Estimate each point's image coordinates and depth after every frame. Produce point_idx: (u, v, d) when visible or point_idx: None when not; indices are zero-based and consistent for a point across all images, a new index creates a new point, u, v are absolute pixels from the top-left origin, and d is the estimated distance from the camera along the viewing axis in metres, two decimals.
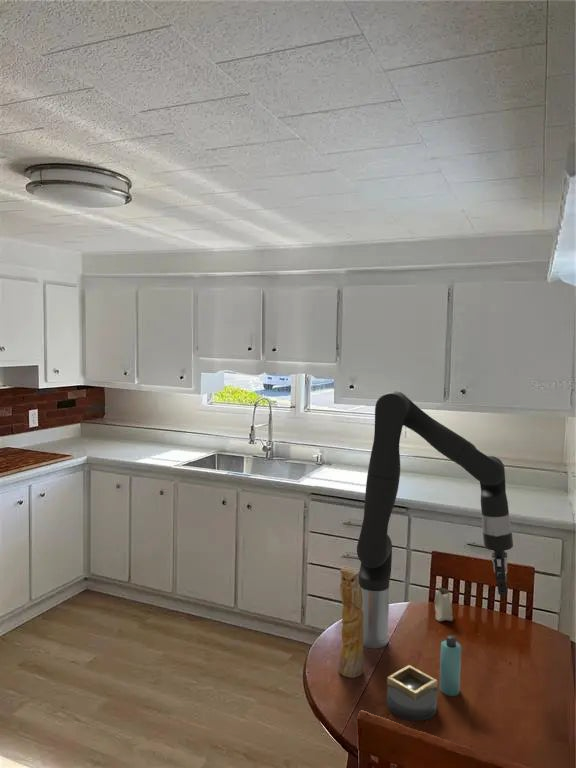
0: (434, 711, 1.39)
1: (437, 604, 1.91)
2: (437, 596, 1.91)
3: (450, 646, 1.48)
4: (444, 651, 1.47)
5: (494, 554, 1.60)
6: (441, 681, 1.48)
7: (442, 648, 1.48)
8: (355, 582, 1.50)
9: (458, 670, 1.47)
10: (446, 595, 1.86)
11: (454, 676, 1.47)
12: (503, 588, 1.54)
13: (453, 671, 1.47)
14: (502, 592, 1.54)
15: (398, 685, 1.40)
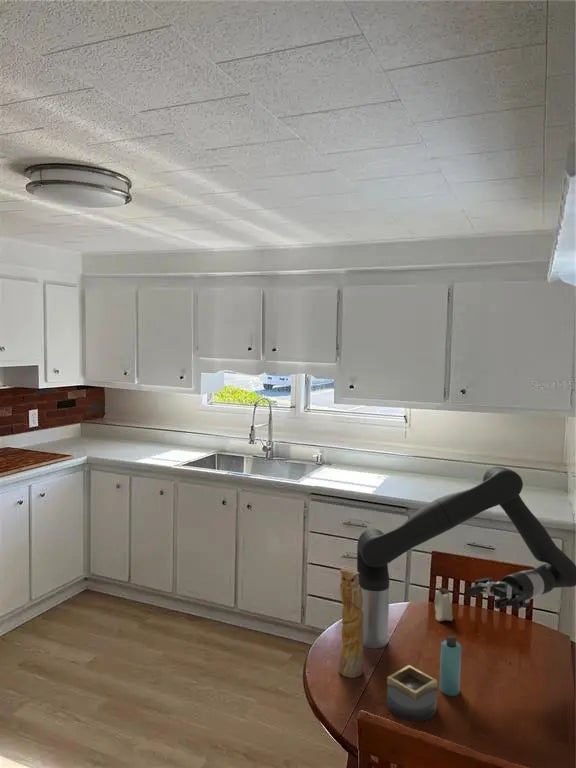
0: (434, 711, 1.39)
1: (437, 604, 1.91)
2: (437, 596, 1.91)
3: (450, 646, 1.48)
4: (444, 651, 1.47)
5: (504, 585, 1.59)
6: (441, 680, 1.48)
7: (442, 648, 1.48)
8: (355, 582, 1.50)
9: (458, 670, 1.47)
10: (446, 595, 1.86)
11: (454, 676, 1.47)
12: (504, 605, 1.50)
13: (453, 671, 1.47)
14: (501, 605, 1.50)
15: (398, 685, 1.40)
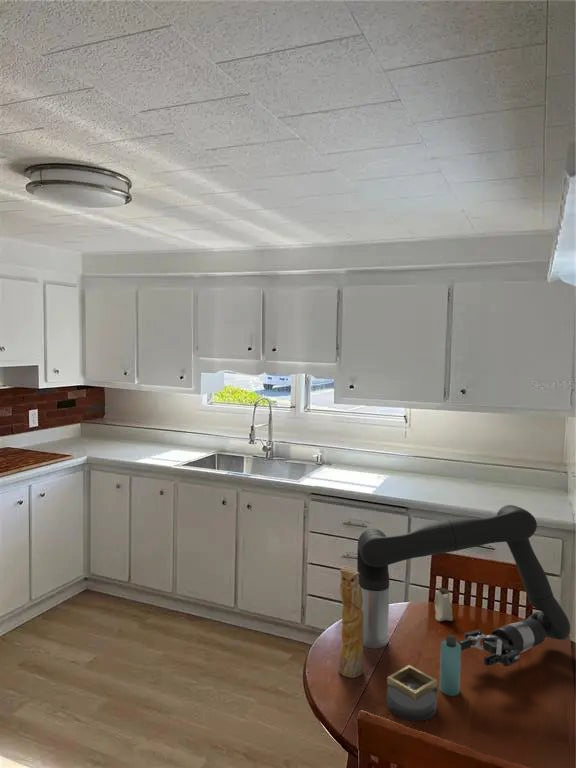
0: (434, 711, 1.39)
1: (437, 604, 1.91)
2: (437, 596, 1.91)
3: (450, 646, 1.48)
4: (444, 651, 1.47)
5: (494, 639, 1.58)
6: (441, 680, 1.48)
7: (442, 648, 1.48)
8: (355, 582, 1.50)
9: (458, 670, 1.47)
10: (446, 595, 1.86)
11: (454, 675, 1.47)
12: (493, 662, 1.50)
13: (453, 671, 1.47)
14: (490, 662, 1.49)
15: (398, 685, 1.40)
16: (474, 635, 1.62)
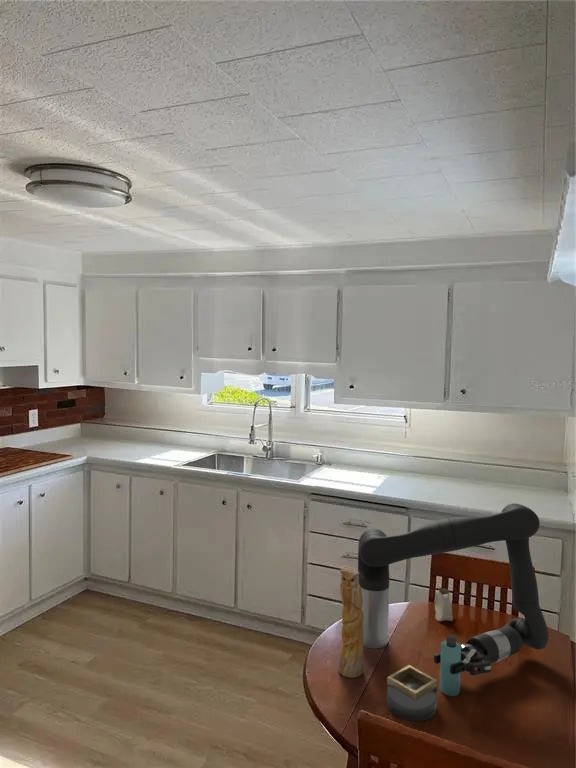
0: (434, 711, 1.39)
1: (437, 604, 1.91)
2: (437, 596, 1.91)
3: (450, 646, 1.48)
4: (444, 651, 1.47)
5: (468, 648, 1.53)
6: (441, 681, 1.48)
7: (442, 648, 1.48)
8: (355, 582, 1.50)
9: None
10: (446, 595, 1.86)
11: (454, 676, 1.47)
12: (460, 671, 1.45)
13: None
14: (456, 671, 1.45)
15: (398, 685, 1.40)
16: None
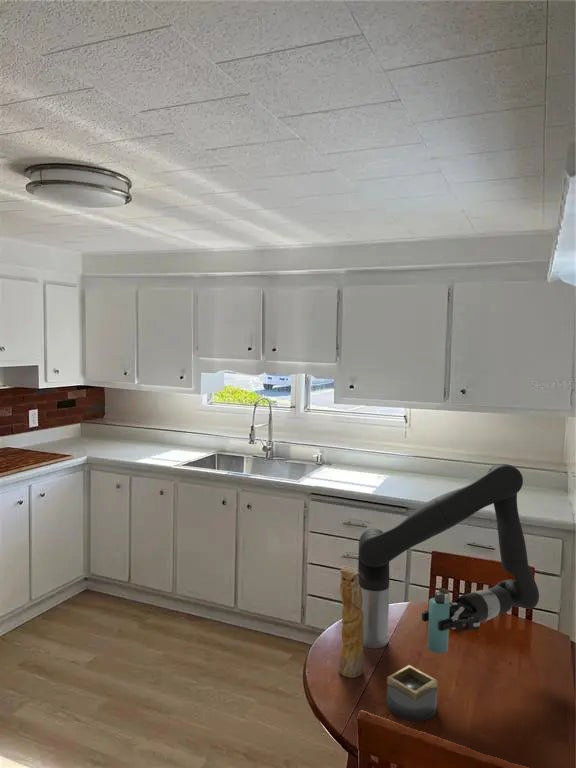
0: (434, 711, 1.39)
1: None
2: None
3: (438, 602, 1.44)
4: (432, 607, 1.44)
5: (457, 606, 1.50)
6: (429, 638, 1.45)
7: (430, 605, 1.45)
8: (355, 582, 1.50)
9: None
10: (446, 595, 1.86)
11: (443, 633, 1.44)
12: (448, 627, 1.42)
13: None
14: (444, 627, 1.42)
15: (398, 685, 1.40)
16: None
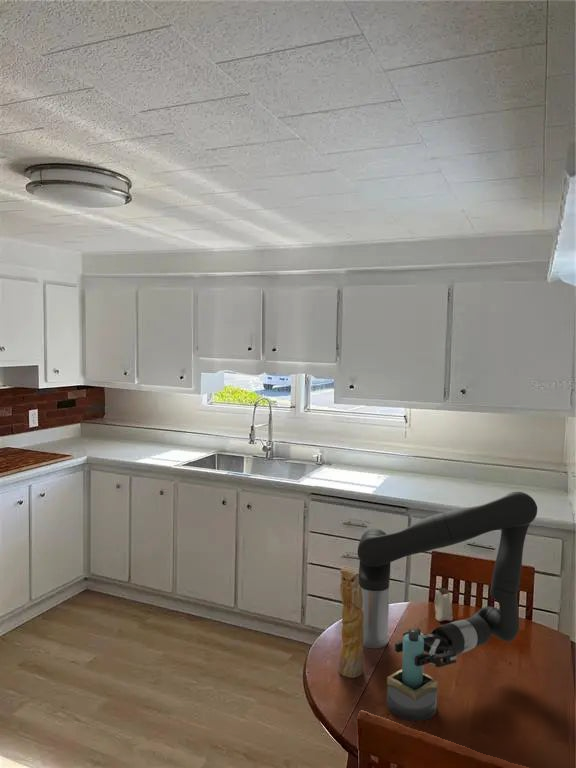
0: (434, 711, 1.39)
1: (437, 604, 1.91)
2: (437, 596, 1.91)
3: (412, 640, 1.40)
4: (405, 645, 1.40)
5: (433, 638, 1.46)
6: (403, 676, 1.41)
7: (404, 642, 1.41)
8: (355, 582, 1.50)
9: None
10: (446, 595, 1.86)
11: (416, 671, 1.40)
12: (425, 663, 1.38)
13: (415, 666, 1.40)
14: (421, 662, 1.37)
15: (398, 685, 1.40)
16: None
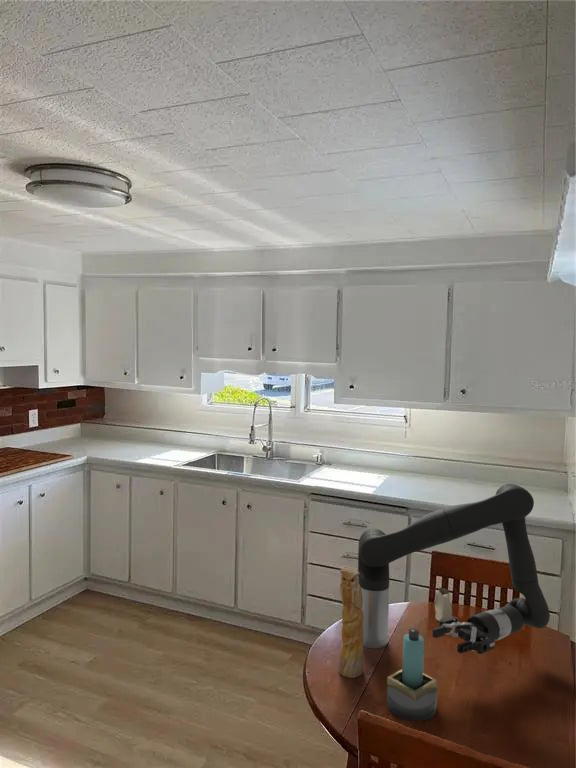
0: (434, 711, 1.39)
1: (437, 604, 1.91)
2: (437, 596, 1.91)
3: (412, 639, 1.41)
4: (406, 644, 1.41)
5: (469, 626, 1.53)
6: (403, 676, 1.42)
7: (404, 641, 1.41)
8: (355, 582, 1.50)
9: (420, 665, 1.40)
10: (446, 595, 1.86)
11: (417, 670, 1.40)
12: (467, 650, 1.44)
13: (415, 665, 1.40)
14: (464, 649, 1.44)
15: (398, 685, 1.40)
16: (449, 622, 1.56)
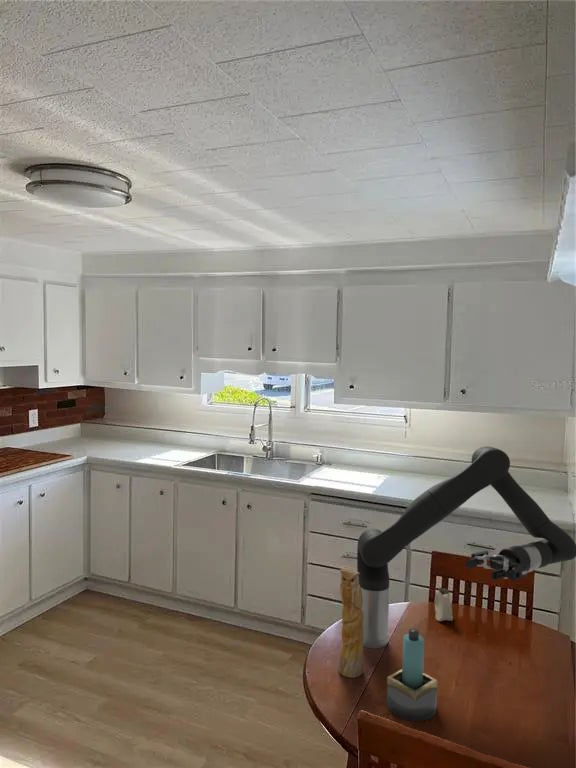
0: (434, 711, 1.39)
1: (437, 604, 1.91)
2: (437, 596, 1.91)
3: (412, 639, 1.41)
4: (406, 645, 1.41)
5: (501, 558, 1.57)
6: (403, 676, 1.42)
7: (404, 641, 1.41)
8: (355, 582, 1.50)
9: (420, 665, 1.40)
10: (446, 595, 1.86)
11: (417, 670, 1.40)
12: (501, 577, 1.49)
13: (415, 665, 1.40)
14: (497, 576, 1.48)
15: (398, 685, 1.40)
16: (480, 556, 1.61)
